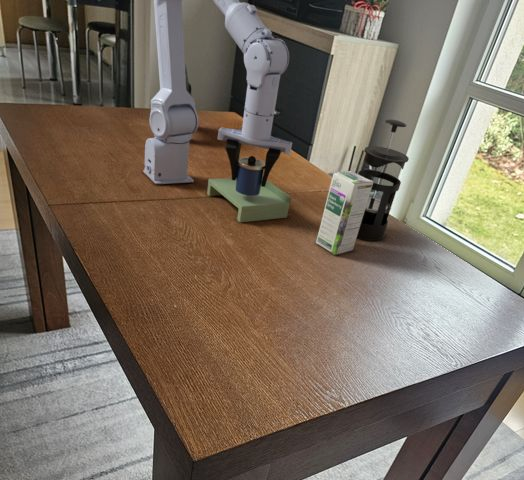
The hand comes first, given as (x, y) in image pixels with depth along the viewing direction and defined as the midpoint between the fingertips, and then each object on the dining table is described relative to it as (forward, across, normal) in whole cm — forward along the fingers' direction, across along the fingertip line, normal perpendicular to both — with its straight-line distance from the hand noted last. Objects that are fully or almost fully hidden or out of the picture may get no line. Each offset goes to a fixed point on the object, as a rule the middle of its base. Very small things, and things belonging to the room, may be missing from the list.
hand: (249, 182), depth 105 cm
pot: (+2, 0, 0) cm, 2 cm away
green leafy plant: (+7, +29, -48) cm, 57 cm away
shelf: (+7, 0, -4) cm, 8 cm away
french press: (+7, -26, -4) cm, 27 cm away
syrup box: (+7, -20, +7) cm, 22 cm away
